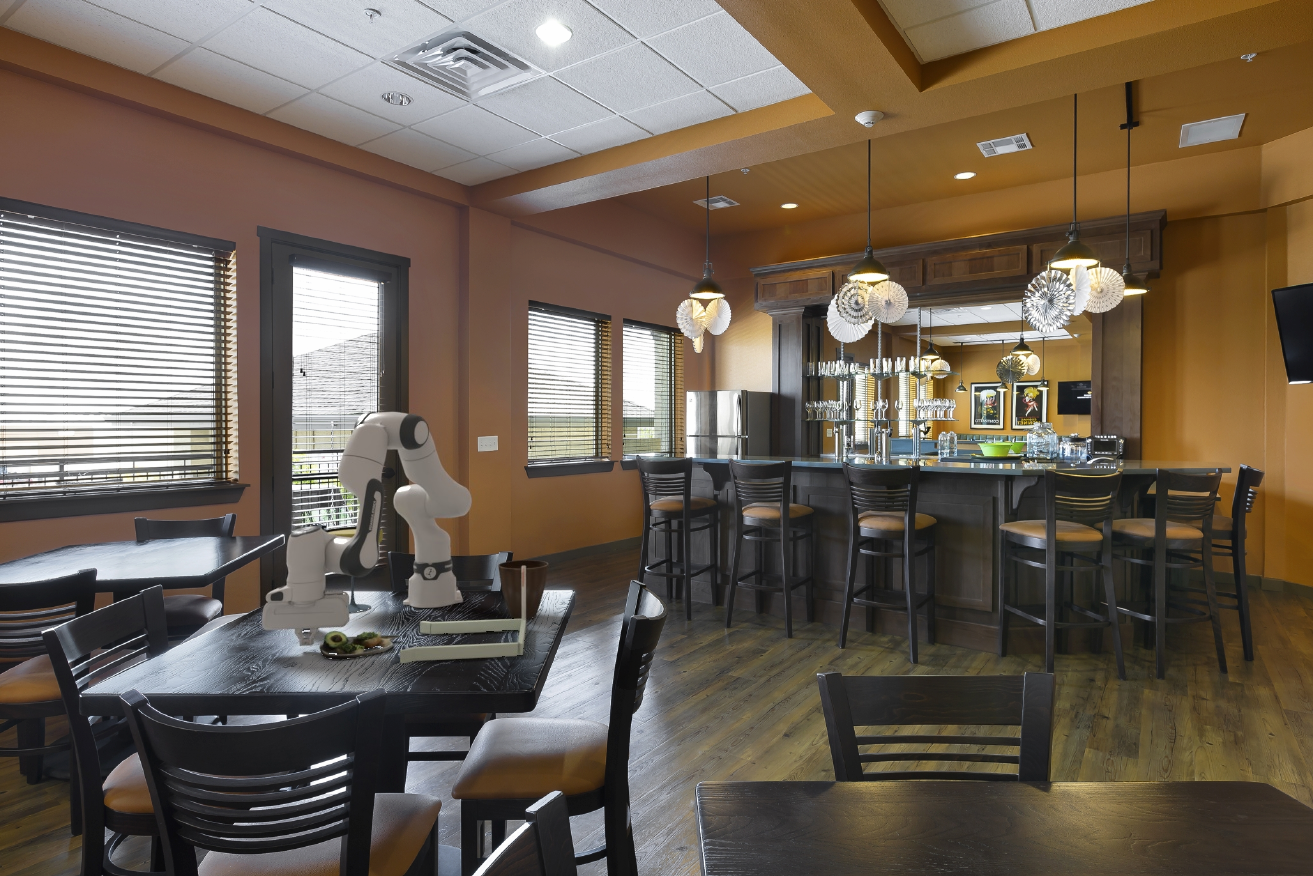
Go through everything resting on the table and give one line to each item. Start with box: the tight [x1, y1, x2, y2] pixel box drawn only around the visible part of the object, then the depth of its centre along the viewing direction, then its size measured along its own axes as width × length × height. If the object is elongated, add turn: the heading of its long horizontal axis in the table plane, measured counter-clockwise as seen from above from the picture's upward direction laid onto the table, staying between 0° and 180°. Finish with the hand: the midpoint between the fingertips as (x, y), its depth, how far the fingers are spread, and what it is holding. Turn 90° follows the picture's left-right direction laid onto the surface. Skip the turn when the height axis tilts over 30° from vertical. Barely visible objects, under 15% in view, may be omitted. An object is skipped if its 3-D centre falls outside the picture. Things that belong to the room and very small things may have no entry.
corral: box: [399, 566, 527, 664], centre depth 186 cm, size 28×29×18 cm
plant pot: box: [497, 559, 549, 620], centre depth 213 cm, size 15×15×16 cm
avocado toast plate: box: [319, 630, 400, 660], centre depth 183 cm, size 19×18×5 cm
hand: (306, 645), depth 180 cm, fingers closed
